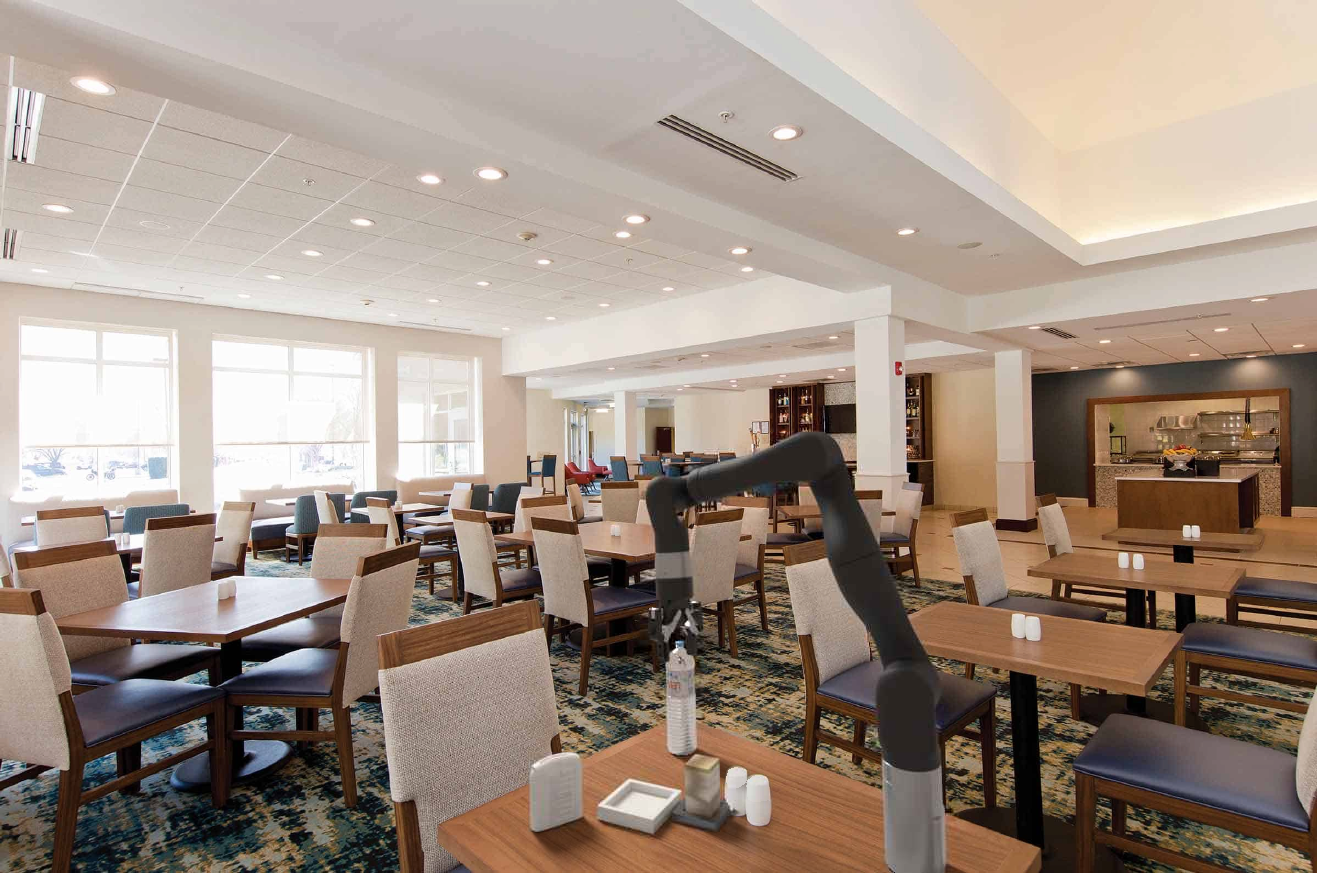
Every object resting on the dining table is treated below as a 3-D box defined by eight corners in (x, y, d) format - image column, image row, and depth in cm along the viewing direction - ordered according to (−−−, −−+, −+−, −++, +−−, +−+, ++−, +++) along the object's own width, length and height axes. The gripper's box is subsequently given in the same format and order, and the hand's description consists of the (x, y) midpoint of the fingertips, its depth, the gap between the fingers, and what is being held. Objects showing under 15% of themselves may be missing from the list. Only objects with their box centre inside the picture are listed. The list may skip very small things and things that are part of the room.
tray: (681, 803, 133) (681, 790, 133) (653, 834, 123) (652, 820, 123) (629, 791, 139) (628, 778, 139) (597, 819, 128) (597, 805, 128)
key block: (720, 811, 130) (719, 758, 130) (710, 824, 126) (708, 769, 126) (696, 806, 132) (695, 754, 133) (685, 818, 128) (684, 764, 128)
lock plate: (734, 808, 131) (733, 800, 131) (716, 832, 123) (715, 823, 123) (691, 798, 135) (691, 791, 135) (671, 820, 127) (671, 812, 127)
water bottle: (662, 747, 159) (660, 640, 160) (688, 742, 162) (685, 636, 163) (675, 759, 153) (672, 647, 154) (702, 753, 156) (699, 643, 157)
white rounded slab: (576, 809, 132) (575, 744, 133) (586, 818, 129) (585, 752, 129) (526, 825, 127) (525, 758, 127) (535, 836, 123) (534, 767, 124)
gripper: (664, 577, 129) (669, 666, 126) (709, 572, 140) (715, 654, 137) (636, 578, 134) (640, 663, 131) (681, 572, 144) (686, 651, 142)
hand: (678, 658), depth 134 cm, fingers open, 8 cm apart
